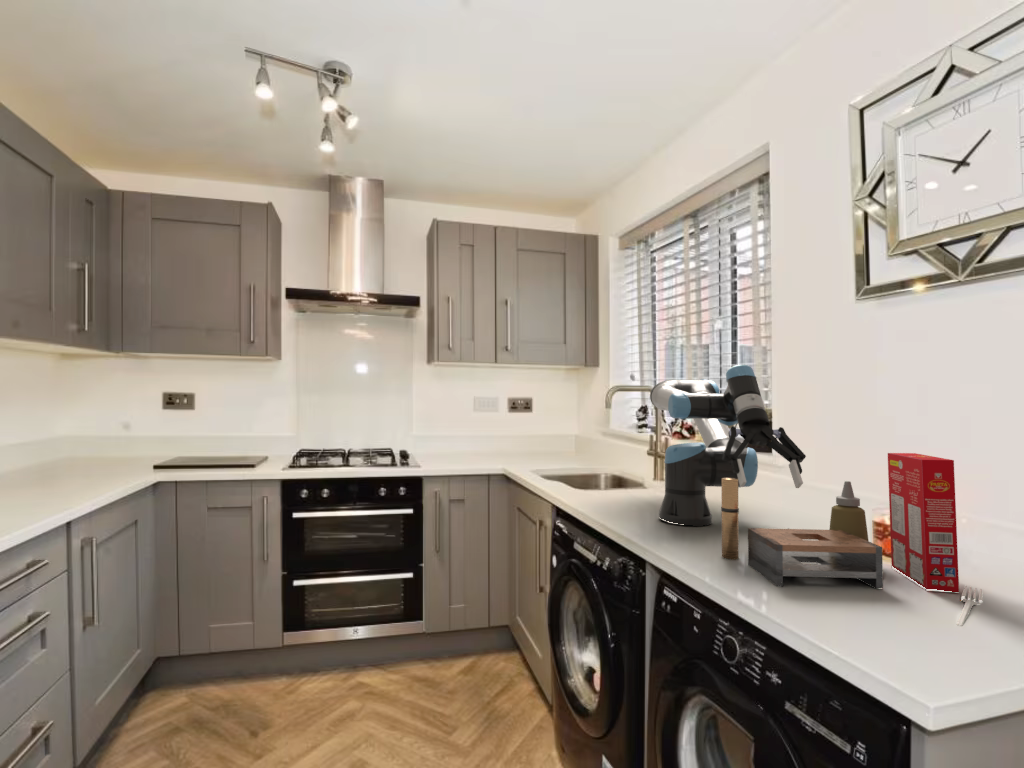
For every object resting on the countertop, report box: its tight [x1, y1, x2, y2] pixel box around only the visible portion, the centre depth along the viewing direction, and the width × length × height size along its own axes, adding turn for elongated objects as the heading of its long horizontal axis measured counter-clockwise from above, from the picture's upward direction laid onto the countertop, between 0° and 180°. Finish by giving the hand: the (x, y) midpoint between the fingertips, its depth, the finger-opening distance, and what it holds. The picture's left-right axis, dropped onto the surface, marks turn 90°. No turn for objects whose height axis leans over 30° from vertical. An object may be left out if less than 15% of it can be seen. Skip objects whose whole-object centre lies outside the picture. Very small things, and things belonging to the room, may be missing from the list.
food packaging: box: [887, 452, 960, 593], centre depth 109 cm, size 15×5×25 cm, turn 167°
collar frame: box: [747, 527, 884, 589], centre depth 111 cm, size 14×20×8 cm
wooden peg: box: [720, 478, 740, 561], centre depth 124 cm, size 4×4×18 cm
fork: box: [956, 585, 984, 627], centre depth 93 cm, size 3×20×2 cm, turn 134°
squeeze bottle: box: [828, 480, 870, 542], centre depth 122 cm, size 8×8×18 cm
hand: (771, 485), depth 133 cm, fingers open, 13 cm apart
